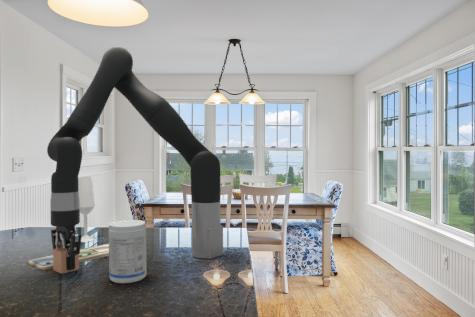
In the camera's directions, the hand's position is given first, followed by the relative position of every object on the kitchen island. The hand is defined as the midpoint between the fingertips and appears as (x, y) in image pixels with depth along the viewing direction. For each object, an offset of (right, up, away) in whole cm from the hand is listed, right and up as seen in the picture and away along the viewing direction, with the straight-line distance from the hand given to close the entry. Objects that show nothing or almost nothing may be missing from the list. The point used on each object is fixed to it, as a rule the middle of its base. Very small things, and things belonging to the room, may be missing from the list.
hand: (66, 267), depth 108 cm
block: (0, -1, 0) cm, 1 cm away
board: (-2, 0, +13) cm, 14 cm away
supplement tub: (+20, -1, -8) cm, 21 cm away
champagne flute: (-9, 0, +37) cm, 38 cm away
